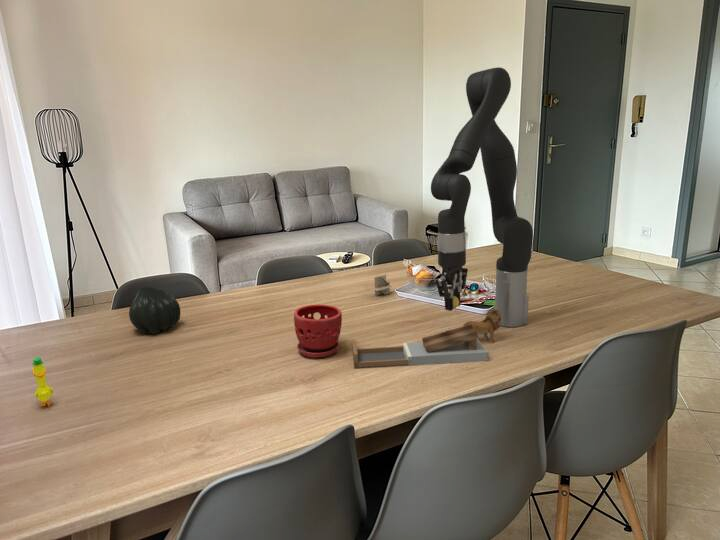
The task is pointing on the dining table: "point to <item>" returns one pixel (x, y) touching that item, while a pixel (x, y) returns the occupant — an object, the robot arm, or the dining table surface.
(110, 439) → the dining table surface
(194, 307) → the dining table surface
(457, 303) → the ball
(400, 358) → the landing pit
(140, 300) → the squash
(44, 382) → the toy figure
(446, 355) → the deck
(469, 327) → the ramp
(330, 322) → the plant pot
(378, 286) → the architectural model
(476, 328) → the lion figurine
